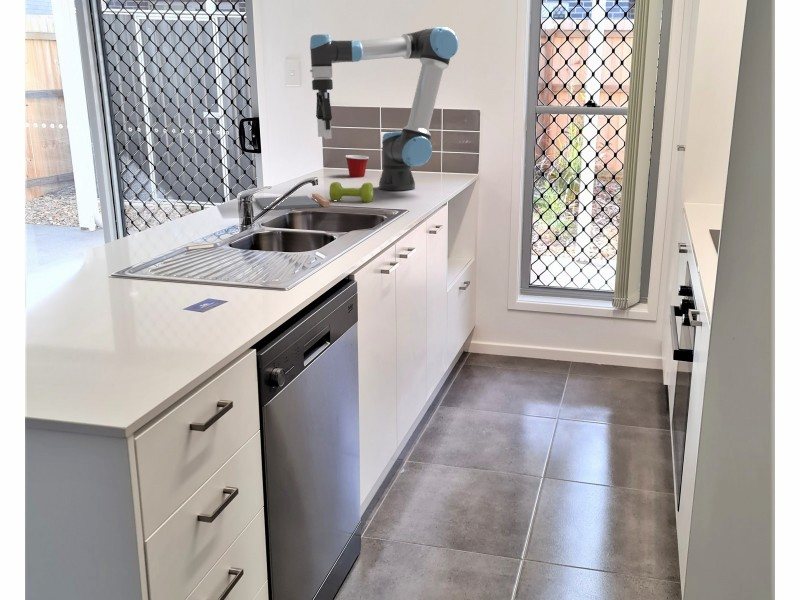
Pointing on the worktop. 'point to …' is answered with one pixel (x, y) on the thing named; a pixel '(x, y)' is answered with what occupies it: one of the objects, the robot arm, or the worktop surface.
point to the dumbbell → (351, 191)
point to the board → (288, 202)
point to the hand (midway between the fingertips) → (324, 137)
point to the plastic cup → (356, 165)
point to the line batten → (321, 200)
